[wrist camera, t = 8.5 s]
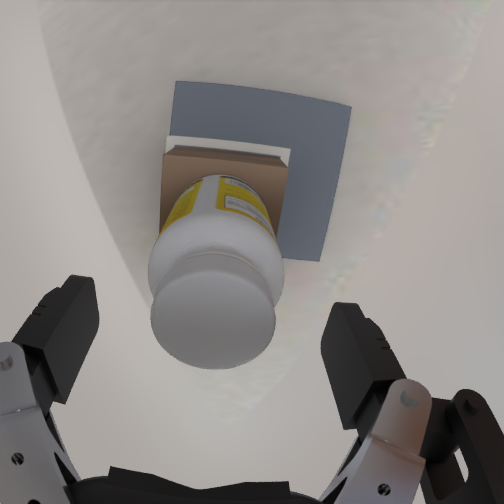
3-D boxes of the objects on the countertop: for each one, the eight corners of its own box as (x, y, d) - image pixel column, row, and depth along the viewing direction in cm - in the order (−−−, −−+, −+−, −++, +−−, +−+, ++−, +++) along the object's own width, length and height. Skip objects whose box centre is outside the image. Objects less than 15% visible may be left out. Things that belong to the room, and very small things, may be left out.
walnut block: (175, 146, 20) (163, 154, 17) (279, 157, 21) (288, 168, 17) (169, 241, 23) (158, 266, 20) (263, 250, 24) (269, 277, 20)
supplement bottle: (182, 264, 20) (151, 385, 11) (167, 178, 17) (105, 256, 8) (269, 256, 20) (297, 376, 11) (264, 168, 17) (297, 237, 9)
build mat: (175, 82, 19) (172, 80, 18) (347, 106, 21) (352, 106, 20) (163, 242, 24) (160, 248, 23) (315, 258, 26) (319, 264, 25)
